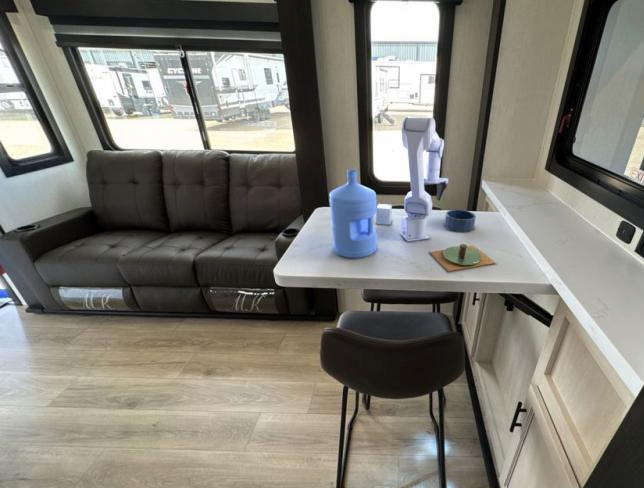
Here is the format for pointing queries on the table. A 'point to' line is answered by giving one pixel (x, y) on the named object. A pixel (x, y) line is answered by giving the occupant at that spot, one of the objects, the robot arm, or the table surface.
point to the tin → (460, 220)
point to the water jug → (353, 218)
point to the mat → (453, 267)
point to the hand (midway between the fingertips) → (430, 200)
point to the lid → (462, 255)
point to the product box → (383, 214)
